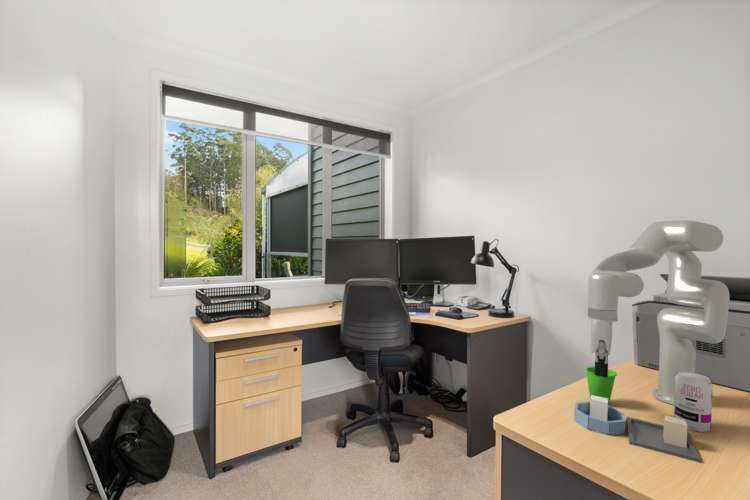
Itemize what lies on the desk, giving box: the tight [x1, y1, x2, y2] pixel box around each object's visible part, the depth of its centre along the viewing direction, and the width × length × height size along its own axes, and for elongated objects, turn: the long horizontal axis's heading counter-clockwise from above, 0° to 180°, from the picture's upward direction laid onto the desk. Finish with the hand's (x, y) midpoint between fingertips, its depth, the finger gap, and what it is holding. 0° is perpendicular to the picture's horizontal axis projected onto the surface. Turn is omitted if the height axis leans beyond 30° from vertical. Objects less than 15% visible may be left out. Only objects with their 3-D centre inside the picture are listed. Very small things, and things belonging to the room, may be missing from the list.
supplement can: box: [673, 372, 713, 433], centre depth 104 cm, size 8×8×15 cm
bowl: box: [573, 400, 626, 436], centre depth 104 cm, size 12×12×4 cm
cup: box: [584, 365, 618, 406], centre depth 119 cm, size 9×9×11 cm
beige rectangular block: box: [662, 415, 688, 448], centre depth 95 cm, size 4×4×6 cm
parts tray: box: [626, 416, 701, 463], centre depth 97 cm, size 16×14×1 cm
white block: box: [589, 395, 609, 421], centre depth 107 cm, size 4×4×6 cm
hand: (601, 370), depth 106 cm, fingers open, 9 cm apart
